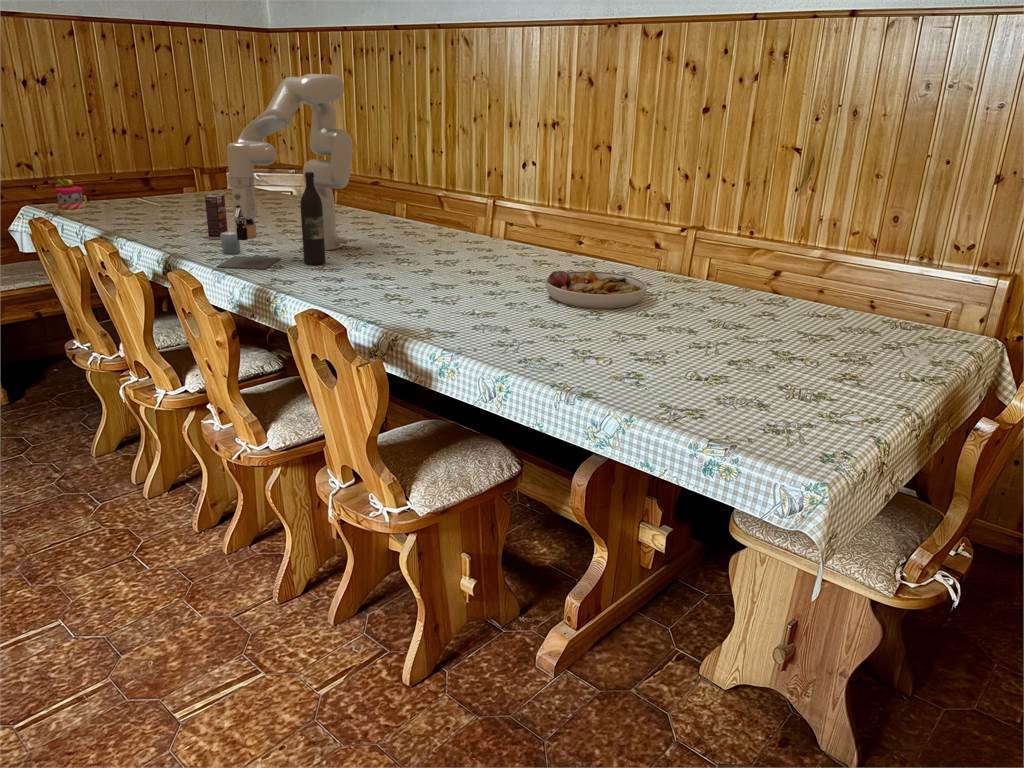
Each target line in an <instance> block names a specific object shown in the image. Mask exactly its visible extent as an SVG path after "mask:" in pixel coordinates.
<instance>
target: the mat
mask: <svg viewBox="0 0 1024 768" xmlns="http://www.w3.org/2000/svg"><path fill="white" fill-rule="evenodd" d="M280 260H282V258H281V257H271V256H267V257H266V256H244V255H240V256H239V255H234V256H232V257H230V258H228V259H227V260H225V261H223V262H221V263H220V264H217V265H216V269H234V270H235V269H241V270H260V271H261V270H263V271H264V270H267V269H269V268H270V267H272V266H273V265H275V264H276V263H278V262H279V261H280Z"/></svg>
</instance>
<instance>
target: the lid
mask: <svg viewBox="0 0 1024 768" xmlns="http://www.w3.org/2000/svg"><path fill="white" fill-rule="evenodd" d="M245 228H247V237H248V239H247V240H253V239H256V238H257V237H258V234H257V224H255V223H254V224H246V227H245ZM234 232H235V233H236V238H237V228H236V224H235V225H234Z"/></svg>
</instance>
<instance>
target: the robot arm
mask: <svg viewBox="0 0 1024 768" xmlns="http://www.w3.org/2000/svg"><path fill="white" fill-rule="evenodd" d="M344 93H345V84H344V82H343V80H342V79H341V77H340V76H338V75H336V74H328V73H326V74H325V73H324V74H323V73H308V74H303V75H302V76H288V77H284V78H283V79H282V80H281V82H280V84H279V85H278V88H277V89H276V91H275V92H274V94H273V96H272V98H271V100H270V102H269V103H268V105H267V107H266V109H264V112H262V113H261V114H259V115H258V116H256V118H254V119H253V120H252V121H250V122H249V123H248V124H247V125H246V126H244V129H243V130H242V131H241V134H239V136H238V138H237V141H236V142H229V143H228V144H227V146H226V154H227V155H226V156H227V165H228V166H227V167H228V175H229V176H228V177H229V187H230V188H232V189H231V195H232V196H231V205H232V213H233V217H234V218H233V220H234V222H235V225H236V228H237V239H238V240H239V241H248V240H249V239H248V237H247V228H245V227H246V224H255V223H256V222H255V217H257V215H258V207H257V197H256V192H255V176H254V166H261V167H266V166H270V165H272V164H274V162H275V161H276V160H277V150H276V148H275V147H274V146H273V145H272V144H271V143H268V142H265V141H263V140H264V139H266V137H269V136H270V135H272V134H275V133H277V132H280V131H282V130H284V129H287V128H288V127H289V126H290V124H291V123H292V121H293V118H294V117H295V115H296V112H297V111H298V109H299V108H300V106H301V105H309V107H310V111H311V124H310V125H311V126H310V135H309V146H310V147H309V148H310V150H311V152H312V153H314V154H315V155H318V156H325V157H330V160H329V159H323V158H322V159H321V158H315V159H314V158H313V159H310V160H308V161H307V162H306V163H305V164H304V165H303V168H302V176H303V181H304V184H305V186H306V178H305V172H313V174H314V186H315V189H316V191H317V193H318V194H319V196H320V198H321V201H322V208H323V226H324V244H325V251H332V250H338V249H340V248H341V247H342V245H343V244H345V245H347V244H348V243H349V239H348V238H346V237H340V236H339V233H337V225H336V223H337V222H336V207H335V206H336V205H335V196H334V193H333V190H332V189H337V190H338V189H344V188H346V186H347V185H348V184H349V181H350V177H351V170H352V159H353V149H354V145H353V139H352V137H351V135H350V134H349V132H347V131H346V130H345V129H341V128H337V113H336V112H337V111H336V109H335V105H334V104H333V102H337V101H339V100H340V99H341V98H343V95H344Z"/></svg>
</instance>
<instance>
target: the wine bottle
mask: <svg viewBox="0 0 1024 768" xmlns="http://www.w3.org/2000/svg"><path fill="white" fill-rule="evenodd" d="M305 178H306V185H305V189H304V191H303V192H302V196H301V198H300V218H301V219H300V220H301V235H302V246H303V247H302V251H303V261H304V262H303V263H304V264H305V265H309V266H320V265H324V264H326V250H325V244H324V226H323V208H322V201H321V198H320V196H319V194H318V193H317V191H316V189H315V186H314V174H313V172H305Z"/></svg>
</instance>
